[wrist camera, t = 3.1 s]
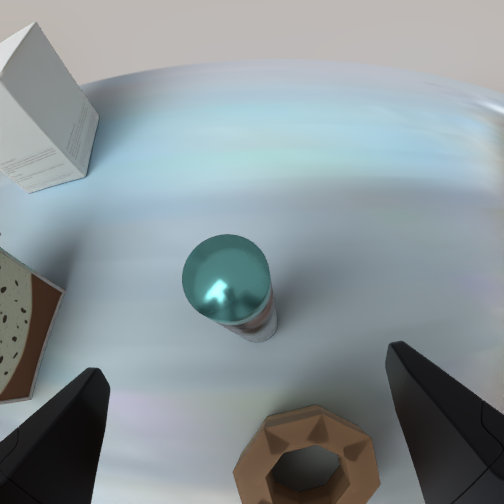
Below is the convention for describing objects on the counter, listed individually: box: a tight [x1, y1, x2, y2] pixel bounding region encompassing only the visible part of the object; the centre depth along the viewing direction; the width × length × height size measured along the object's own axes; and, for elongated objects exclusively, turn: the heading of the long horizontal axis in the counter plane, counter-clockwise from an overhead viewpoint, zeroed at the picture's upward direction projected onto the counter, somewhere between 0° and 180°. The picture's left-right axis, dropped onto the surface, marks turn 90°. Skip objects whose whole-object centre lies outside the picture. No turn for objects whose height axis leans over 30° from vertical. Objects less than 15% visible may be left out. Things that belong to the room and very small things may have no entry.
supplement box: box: [0, 22, 99, 193], centre depth 20 cm, size 7×7×13 cm
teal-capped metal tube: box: [182, 234, 277, 342], centre depth 14 cm, size 2×2×11 cm
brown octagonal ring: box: [233, 404, 380, 504], centre depth 14 cm, size 7×7×4 cm
